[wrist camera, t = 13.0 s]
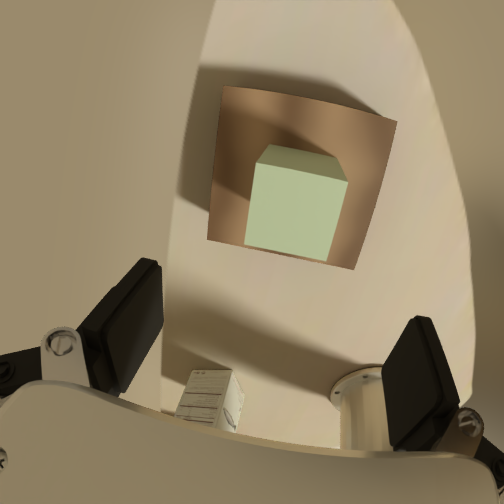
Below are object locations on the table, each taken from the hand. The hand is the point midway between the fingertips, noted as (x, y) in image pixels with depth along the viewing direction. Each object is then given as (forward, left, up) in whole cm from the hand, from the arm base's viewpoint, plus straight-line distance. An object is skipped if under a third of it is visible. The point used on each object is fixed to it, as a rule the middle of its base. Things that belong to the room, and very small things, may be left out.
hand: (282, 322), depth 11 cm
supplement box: (+5, +36, -22) cm, 42 cm away
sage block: (0, 0, -16) cm, 16 cm away
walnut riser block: (0, 0, -21) cm, 21 cm away
